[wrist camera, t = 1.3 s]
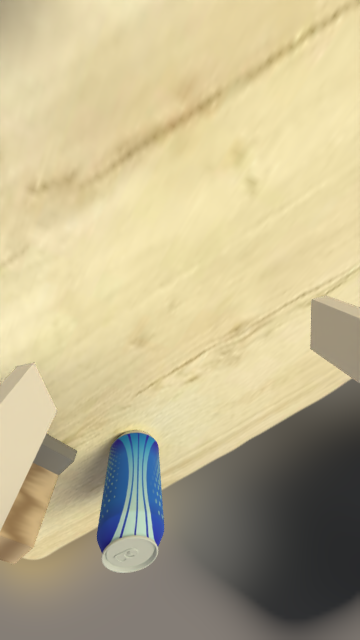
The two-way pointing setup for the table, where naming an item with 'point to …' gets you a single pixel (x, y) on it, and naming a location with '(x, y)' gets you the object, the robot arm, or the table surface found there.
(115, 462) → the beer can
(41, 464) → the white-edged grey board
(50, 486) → the brown cardboard box
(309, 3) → the table surface
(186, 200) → the table surface
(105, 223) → the table surface
